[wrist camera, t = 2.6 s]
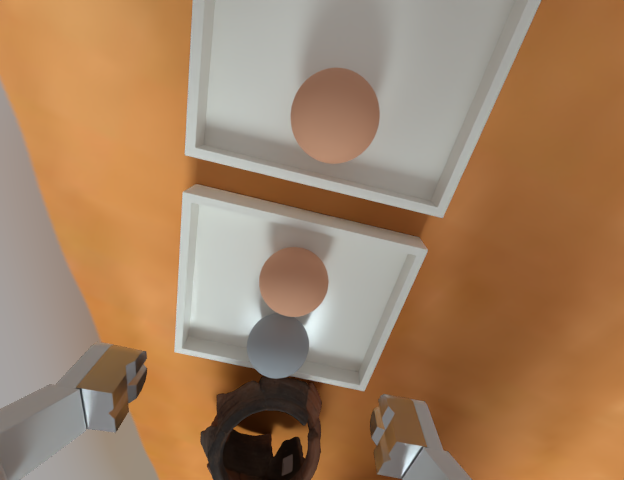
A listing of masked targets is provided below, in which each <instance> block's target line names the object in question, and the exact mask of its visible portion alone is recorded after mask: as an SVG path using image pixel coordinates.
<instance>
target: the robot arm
mask: <svg viewBox="0 0 624 480" xmlns="http://www.w3.org/2000/svg"><path fill="white" fill-rule="evenodd" d="M146 359H147V355H146V351H141V350H137V349H132V348H127V347H122V346H118V345H113V344H108V343H102V342H97V343H95V344H93V345H92V346H91V347H90V348H89V349H88V350H87V351H86V352H85V353H84V355H82V356H81V358H80V359H79V360H78V361H77V362H76V363H75V364H74V365H73V366H72V367H71V368H70V369H69V371H68V372H67V373H66V374H65V375H64V376H63V377H62V378H61V379H60V380H59V381H58V383H57V384H56V385H52V384H50V385H47V386H46V387H44V388H41V389H39V390H37V391H35V392H33V393H31V394H29V395H27V396H25V397H24V398H21V399H19V400H17V401H15V402H14V403H11V404H9V405H7V406H5V407H3V408H1V409H0V480H21V479H22V478H23V477H25V476H26V475H27V474H28V473H30V472H31V471H33V470H34V469H35V468H37V467H38V466H39V465H41V464H42V463H43V462H45V461H46V460H48V459H49V458H50V457H52V456H53V455H54V454H56V453H57V452H58V451H59V450H61V449H62V448H64V447H65V446H66V445H68V444H69V443H70V442H72V441H73V440H74V439H76V438H77V437H78V436H80V435H81V434H82V433H84V432H85V431H86V429H92V430H100V431H108V432H116V431H117V430H118V428H119V426H120V425H121V423H122V422H123V420H124V418H125V417H126V415H127V413H128V412H129V408H128V403H130V402H132V401H133V400H135V399H136V398H137V397H138V395H139V393H140V392H141V390H142V388H143V385H144V383H145V380H146V375H147V368H146V367H145V365H144V362H145V361H146ZM378 401H379V406H378V407H376V408H374V410H373V412H372V415H371V421H370V432H371V438H372V440H373V441H374V442H375V444H376V445H377V446H376V448H375V450H374V458H375V465H376V471H377V474H379V475H384V476H389V477H394V478H400V479H402V480H472V479H471V478H470V477H469V475H468V474H467V473H466V472H465V471H464V470H463V468H462V467H461V466H460V465H459V464H458V463H457V461H456V460H455V459H454V458H453V457H452V456H451V455H450V453H449V452H448V451H444V450H443V448H442V445H441V442H440V439H439V436H438V434H437V431H436V428H435V425H434V422H433V420H432V417H431V414H430V411H429V408H428V406H427V404H426V403H425V401H420V400H414V399H409V398H405V397H399V396H393V395H387V394H383V395H381V396H380V398H379V400H378Z"/></svg>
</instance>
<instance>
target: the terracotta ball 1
mask: <svg viewBox="0 0 624 480" xmlns="http://www.w3.org/2000/svg"><path fill="white" fill-rule="evenodd" d="M328 283H329V280H328V273H327V270H326V267H325V265H324V264H323V262H322V261H321V259H320V258H319V257H318V256H317V255H316V254H314V253H313V252H311V251H309V250H307V249H304V248H300V247H288V248H284V249H281V250H279V251H277V252H275V253H274V254H272V255H271V256H270V257H269V258H268V259H267V261H266V262H265V263H264V265H263V267H262V269H261V273H260V277H259V287H260V292H261V295H262V297H263V299H264V301H265V302H266V304H267V305H268V306H269V307H270V308H271V309H272V310H273V311H275V312H277V313H278V314H281V315H284V316H288V317H299V316H303V315H306V314H309V313H310V312H312V311H314V310H315V309H316V308H317V307H318V306H319V305H320V304H321V303H322V301H323V300H324V298H325V296H326V293H327V290H328Z"/></svg>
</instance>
